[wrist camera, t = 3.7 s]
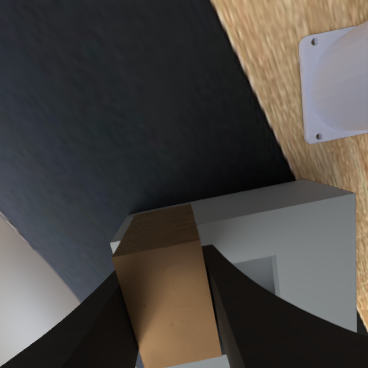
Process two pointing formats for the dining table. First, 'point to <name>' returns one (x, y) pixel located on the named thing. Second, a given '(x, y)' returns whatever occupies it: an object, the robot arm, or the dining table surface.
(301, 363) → the robot arm
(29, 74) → the dining table surface
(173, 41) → the dining table surface
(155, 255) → the brown wooden block
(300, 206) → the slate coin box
